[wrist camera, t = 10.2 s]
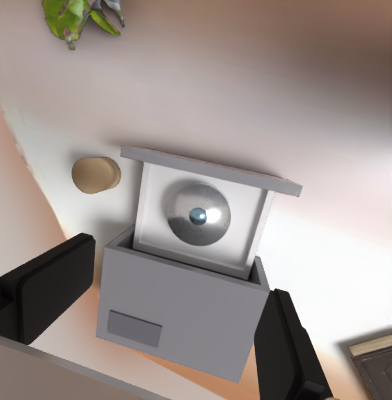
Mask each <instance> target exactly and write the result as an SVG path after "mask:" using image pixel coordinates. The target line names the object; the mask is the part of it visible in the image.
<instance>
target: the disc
mask: <svg viewBox="0 0 392 400" xmlns="http://www.w3.org/2000/svg"><path fill="white" fill-rule="evenodd" d="M167 220H168V224H169V226H170V228H171V230H172V232H173V233H174V234H175V235H176V236H177V237H178V238H179V239H180V240H182V241H183V242H185V243H187V244H190V245H194V246H207V245H211V244H213V243H216V242H217V241H219V240H220V239H221V238H222V237H223V236H224V235H225V234H226V232H227V230H228V229H229V226H230V222H231V209H230V204H229V202H228V199H227V197H226V196H225V195H224V193H223V192H222V191H221V190H220V189H218V188H217V187H215V186H213V185H211V184H208V183H203V182H196V183H191V184H188V185H186V186H184V187H183V188H181V189H180V190H179V191H177V192H176V193H175V194H174V195H173V197H172V198H171V200H170V202H169V204H168V208H167Z"/></svg>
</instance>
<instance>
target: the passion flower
mask: <svg viewBox="0 0 392 400" xmlns="http://www.w3.org/2000/svg"><path fill="white" fill-rule="evenodd" d="M104 1H105V2H106V4H107V6H109V7H110V8H112V9H114V10H115V11H116V12H117V13H118V15H119V17H120V19H121V23H122V27H125V25H124V21H123V16H122V12H121V8H120V3H119V0H104ZM100 2H101V0H42V2H41V3H42V6H43V8H44V11H45V15H46V17H45V19H46V22H47V24H48V26H49V28H50V30H51V32H52V33H53V34H54V35H55V36H57V37H59V38H60V39H62V40H66V42H67V47H68V49H69V50H75V46H74V45H73V44H72V42H71V41H76V40H78V39H79V38H80V35H81V32H82V29H83V26H84V24H85V22H86V21H87V18H88V17H89V15H91V16H92V19H93V20H94V21H95V22H97V23H98V24H99V25H100V26H101V27H102V28H103V29H104V30H106V31H107V32H109V33H111V34H114V35H118V36H120V35H121V34H120V32H119V31H118V30H116V28H115V27H114V26H113V25H112V24H111V23H110V22H109V20H108V19H107V18H106V16H105V15H104V13H103V11H102V9H101V6H100Z"/></svg>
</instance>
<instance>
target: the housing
mask: <svg viewBox="0 0 392 400" xmlns="http://www.w3.org/2000/svg"><path fill="white" fill-rule="evenodd" d="M135 227H136V225H134V224H133V225H132V226H131V227H129V228H128V229H127V230H126V231H124V232H123V233H122V234H120V235H119V236H118V237H116V238H115V239H114V240H113V241H111V242H110V243H109V244H107V245H106V246H105V247H104V254H103V265H102V276H101V287H100V298H99V309H98V320H97V330H96V331H97V332H96V337H98V338H101V339H104V340H107V341H110V342H113V343H116V344H119V345H122V346H125V347H129V348H132V349H135V350H138V351H141V352H144V353H147V354H150V355H153V356H156V357H159V358H162V359H165V360H168V361H171V362H174V363H177V364H180V365H183V366H186V367H189V368H193V369H196V370H199V371H202V372H205V373H208V374H211V375H214V376H217V377H220V378H223V379H226V380H229V381H232V382H235V383H239V381H240V378H241V375H242V372H243V369H244V367H245V364H246V361H247V358H248V356H249V353H250V350H251V347H252V345H253V342H254V334H255V330H256V328H257V325H258V322H259V319H260V317H261V314H262V311H263V308H264V306H265V303H266V300H267V298H268V295H269V292H270V288H269V285H268V281H267V278H266V275H265V272H264V268H263V265H262V262H261V259H260V257H256V256H255V258H254V261H253V264H252V267H251V270H250V273H249V277H248V280H246V279H242V278H239V277H235V276H232V275H228V274H224V273H221V272H217V271H213V270H210V269H206V268H202V267H199V266H195V265H191V264H188V263H184V262H181V261H177V260H173V259H170V258H166V257H162V256H159V255H155V254H151V253H148V252H144V251H140V250H137V249H133V242H134V234H135Z"/></svg>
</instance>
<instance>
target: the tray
mask: <svg viewBox="0 0 392 400" xmlns="http://www.w3.org/2000/svg"><path fill="white" fill-rule="evenodd" d="M120 157H124V158H129V159H133V160H138V161H142V162H144V167H143V174H142V182H141V189H140V197H139V204H138V212H137V219H136V227H135V234H134V242H133V249H137V250H140V251H144V252H148V253H151V254H155V255H159V256H162V257H166V258H170V259H173V260H177V261H181V262H184V263H188V264H191V265H195V266H199V267H202V268H206V269H210V270H213V271H217V272H221V273H224V274H228V275H232V276H235V277H239V278H242V279H246V280H248V277H249V273H250V270H251V267H252V264H253V261H254V258H255V255H256V251H257V248H258V245H259V242H260V239H261V236H262V233H263V229H264V226H265V223H266V220H267V217H268V214H269V211H270V207H271V204H272V201H273V198H274V195H275V192H279V193H283V194H287V195H292V196H296V197H299V195H300V192H301V189H302V187H303V186H301V185H299V184H297V183H295V182H292V181H290V180H288V179H284V178H279V177H275V176H270V175H266V174H261V173H257V172H252V171H248V170H243V169H238V168H234V167H229V166H225V165H220V164H216V163H211V162H206V161H202V160H197V159H193V158H188V157H184V156H179V155H175V154H170V153H165V152H161V151H156V150H152V149H147V148H143V147H128V146H121V155H120ZM196 182H203V183H208V184H211V185H213V186H215V187H217V188H218V189H220V190H221V191H222V192H223V193H224V195H225V196H226V197H227V199H228V202H229V204H230V209H231V222H230V226H229V229H228V230H227V232H226V234H225V235H224V236H223V237H222V238H221V239H220V240H219V241H217V242H216V243H213V244H211V245H207V246H194V245H190V244H187V243H185V242H183V241H182V240H180V239H179V238H178V237H177V236H176V235H175V234H174V233H173V232H172V230H171V228H170V226H169V224H168V220H167V208H168V204H169V202H170V200H171V198H172V197H173V195H174V194H175V193H176V192H177V191H179V190H180V189H181V188H183V187H184V186H186V185H188V184H191V183H196Z"/></svg>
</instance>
